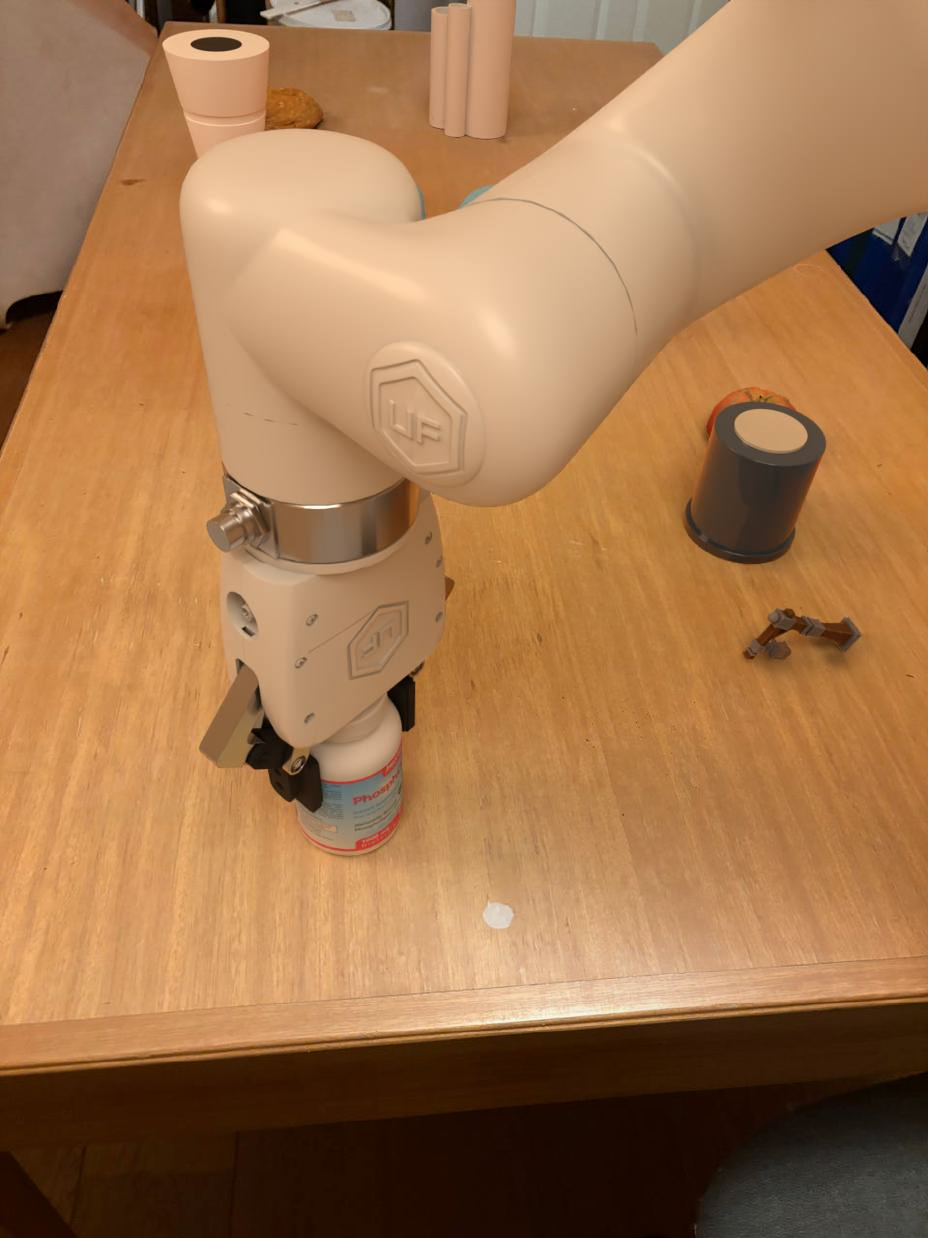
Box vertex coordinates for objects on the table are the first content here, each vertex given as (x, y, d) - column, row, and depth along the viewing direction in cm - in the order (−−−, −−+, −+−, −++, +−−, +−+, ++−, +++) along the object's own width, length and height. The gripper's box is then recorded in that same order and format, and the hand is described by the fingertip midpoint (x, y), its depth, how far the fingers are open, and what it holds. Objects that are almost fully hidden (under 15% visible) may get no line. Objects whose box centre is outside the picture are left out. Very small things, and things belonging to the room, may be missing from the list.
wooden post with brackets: (729, 645, 63) (770, 597, 61) (808, 658, 67) (850, 614, 65) (742, 664, 62) (784, 617, 60) (821, 676, 66) (864, 632, 63)
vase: (508, 124, 134) (521, -43, 120) (502, 142, 129) (515, -30, 115) (431, 116, 135) (435, -51, 121) (422, 133, 130) (425, -39, 116)
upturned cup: (811, 526, 74) (852, 428, 67) (760, 580, 69) (798, 481, 63) (717, 479, 78) (746, 382, 71) (662, 528, 73) (688, 429, 66)
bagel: (336, 130, 129) (334, 93, 126) (261, 141, 125) (257, 102, 122) (307, 107, 135) (304, 71, 131) (235, 117, 131) (230, 80, 127)
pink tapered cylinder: (269, 245, 104) (250, 64, 91) (177, 234, 104) (145, 53, 91) (296, 207, 111) (282, 34, 98) (210, 197, 112) (185, 24, 99)
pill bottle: (379, 874, 51) (373, 753, 43) (278, 840, 52) (255, 716, 44) (418, 787, 55) (420, 662, 47) (324, 757, 56) (310, 630, 48)
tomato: (680, 418, 81) (743, 354, 79) (706, 440, 87) (766, 381, 84) (739, 478, 77) (808, 413, 75) (762, 498, 83) (827, 438, 81)
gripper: (209, 651, 30) (268, 910, 43) (533, 431, 40) (502, 698, 53) (76, 545, 34) (168, 816, 46) (405, 366, 43) (405, 632, 56)
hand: (345, 751), depth 49 cm, fingers closed on pill bottle, 6 cm apart
